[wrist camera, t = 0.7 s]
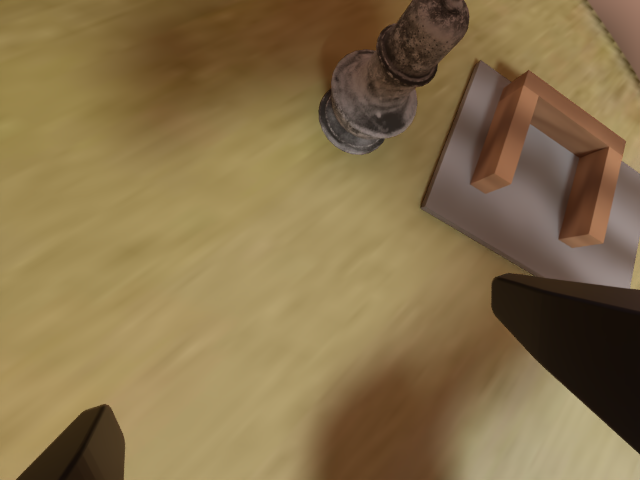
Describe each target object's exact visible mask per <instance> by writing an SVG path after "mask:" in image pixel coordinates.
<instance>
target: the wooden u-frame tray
mask: <svg viewBox="0 0 640 480" xmlns="http://www.w3.org/2000/svg"><path fill="white" fill-rule="evenodd" d="M625 143H626V141H625V140H624V139H622V138H621V137H620V136H618V135H617V134H615V133H614V132H613V131H611V130H610V129H609V128H607V127H606V126H605V125H603V124H602V123H600V122H599V121H598V120H596V119H595V118H594V117H592V116H591V115H589V114H588V113H587V112H585V111H584V110H583V109H581V108H580V107H579V106H577V105H576V104H574V103H573V102H572V101H570V100H569V99H568V98H566V97H565V96H564V95H562V94H561V93H559V92H558V91H557V90H555V89H554V88H553V87H551V86H550V85H548V84H547V83H546V82H544V81H543V80H542V79H540V78H539V77H538V76H536V75H535V74H533V73H532V72H531V71H529V70H528V71H527V72H525V73H524V74H522V75H521V76H520V77H518V78H517V79H515V80H514V81H513V82H511V81H509V80H508V79H506V78H505V77H504V76H502V75H501V74H499V73H498V72H497V71H495V70H494V69H492V68H491V67H490V66H488V65H487V64H485V63H484V62H483V61H479V62H478V63H477V64H476V65H475V68H474V71H473V73H472V76H471V78H470V81H469V84H468V86H467V89H466V91H465V94H464V97H463V99H462V102H461V104H460V107H459V110H458V112H457V115H456V117H455V120H454V123H453V125H452V128H451V130H450V133H449V136H448V138H447V141H446V143H445V146H444V149H443V151H442V154H441V156H440V159H439V162H438V164H437V167H436V169H435V172H434V175H433V177H432V180H431V182H430V185H429V188H428V190H427V193H426V195H425V198H424V201H423V203H422V206H421V209H422V210H424V211H426V212H428V213H429V214H431V215H433V216H434V217H436V218H438V219H439V220H441V221H443V222H445V223H446V224H448V225H450V226H451V227H453V228H455V229H456V230H458V231H460V232H462V233H463V234H465V235H467V236H468V237H470V238H472V239H473V240H475V241H477V242H479V243H480V244H482V245H484V246H485V247H487V248H489V249H490V250H492V251H494V252H496V253H497V254H499V255H501V256H502V257H504V258H506V259H507V260H509V261H511V262H513V263H514V264H516V265H518V266H519V267H521V268H523V269H524V270H526V271H528V272H530V273H531V274H533V275H535V276H536V277H543V278H551V279H558V280H566V281H574V282H582V283H589V284H597V285H605V286H613V287H620V288H628V289H630V284H631V279H632V274H633V269H634V263H635V258H636V253H637V248H638V242H639V237H640V174H639V173H638V172H637V171H635V170H634V169H632V168H631V167H630V166H628V165H627V164H625V163H624V162H623V161H622V157H623V152H624V148H625Z"/></svg>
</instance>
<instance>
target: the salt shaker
mask: <svg viewBox="0 0 640 480" xmlns="http://www.w3.org/2000/svg"><path fill="white" fill-rule="evenodd" d="M468 24H469V11H468V8H467V5H466V3H465V1H464V0H412V2H411V3H410V5H409V6H408V8H407V9H406V10H405V12H404V13H403V15H402V16H401V17H400V19H399V20H398V22H397V23H396V24H392V25H389V26H387V27H386V28H385V29H384V30H382V32H381V33H380V35H379V37H378V40H377V45H376V48H377V49H376V51H373V50H367V49H366V50H358V51H354V52H352V53H350V54H347V55H346V56H345V57H344V58H343V59H341V60H340V61H339V62H338V64H337V66H336V68H335V70H334V71H333V75H332V80H331V89H330V90H329V91H328V92H327V93H326V94H325V95H324V97H323V99H322V101H321V103H320V107H319V121H320V125H321V128H322V130H323V132H324V134H325V135H326V137H327V138H328V140H329V141H330V142H331V143H332V144H333V145H334V146H336V147H337V148H339V149H341V150H342V151H344V152H347V153H350V154H359V155H362V154H366V153H370V152H372V151H374V150H375V149H377V148H378V147H379V146H380V145H381V144H382V143H383V141H384V139H385V138H389V137H394V136H397V135H398V134H400V133H402V132H404V131H405V130H406V129H407V128H408V126H409V125H410V124H411V123H412V121H413V119H414V117H415V114H416V109H417V96H416V90H415V88H416V87H420V86H424V85H425V84H427V83H429V82H430V81H431V80H432V79H433V78H434V76H435V74H436V72H437V66H438V63H439V62H440V61H441V60H442V59H443V58H444V57H445V56H446V55H447V54H448V53H449V52H450V51H451V50H452V48H453V47H454V46H455V45H456V44H457V43H458V42H459V41H460V40H461V39H462V38H463V37H464V35H465V33H466V31H467V29H468Z"/></svg>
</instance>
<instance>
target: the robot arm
mask: <svg viewBox="0 0 640 480" xmlns="http://www.w3.org/2000/svg"><path fill="white" fill-rule="evenodd" d="M491 307H492V310H493V313H494V314H495V316H496V317H497V318H498V319H499V320H500V321H501V322H502V324H503V325H504V326H505V327H506V328H507V329H508V330H509V331H510V332H511V333H512V334H513V335H514V337H515V338H516V339H517V340H518V341H519V342H520V343H521V344H522V345H523V346H524V347H525V349H526V350H527V351H528V352H529V353H530V354H531V355H532V356H533V357H534V358H535V359H536V360H537V361H538V362H539V363H540V364H541V365H542V366H543V367H544V368H545V369H546V370H547V371H548V372H550V373H551V374H552V375H553V376H554V377H555V378H556V379H557V380H558V381H560V382H561V383H562V384H563V385H564V386H565V387H566V388H567V389H568V390H569V391H571V392H572V393H573V394H574V395H575V396H576V397H577V398H578V399H579V400H580V401H582V402H583V403H584V404H585V405H586V406H587V407H588V408H589V409H590V410H591V411H593V412H594V413H595V414H596V415H597V416H598V417H599V418H600V419H601V420H602V421H604V422H605V423H606V424H607V425H608V426H609V427H610V428H611V429H612V430H613V431H615V432H616V433H617V434H618V435H619V436H620V437H621V438H622V439H623V440H625V441H626V442H627V443H628V444H629V445H630V446H631V447H632V448H633V449H634V450H636V451H637V452H638V453H639V454H640V290H636V289H628V288H620V287H613V286H605V285H597V284H589V283H582V282H574V281H566V280H558V279H551V278H543V277H535V276H527V275H520V274H512V273H507V274H504V275H501V276H498V277H495V278H494V279H493V281H492V291H491ZM124 460H125V440H124V436H123V433H122V431H121V429H120V426H119V424H118V422H117V420H116V418H115V415H114V413H113V411H112V409H111V408H110V406H109V405H106V404H103V405H100V406H97V407H94V408H90V409H87V410H85V411H83V412H82V413H81V414H80V415H79V416H78V417H77V418H76V419H75V420H74V421H73V422H72V423H71V424H70V425H69V426H68V427H67V428H66V429H65V430H64V431H63V432H62V433H61V434H60V435H59V436H58V437H57V438H56V439H55V440H54V441H53V442H52V443H51V444H50V445H49V446H48V447H47V449H46V450H45V451H44V452H43V453H42V454H41V455H40V456H39V457H38V458H37V459H36V460H35V461H34V462H33V463H32V464H31V465H30V466H29V467H28V468H27V469H26V470H25V471H24V472H23V473H22V474H21V475H20V476H19V477H18V478H17V479H16V480H124Z"/></svg>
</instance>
